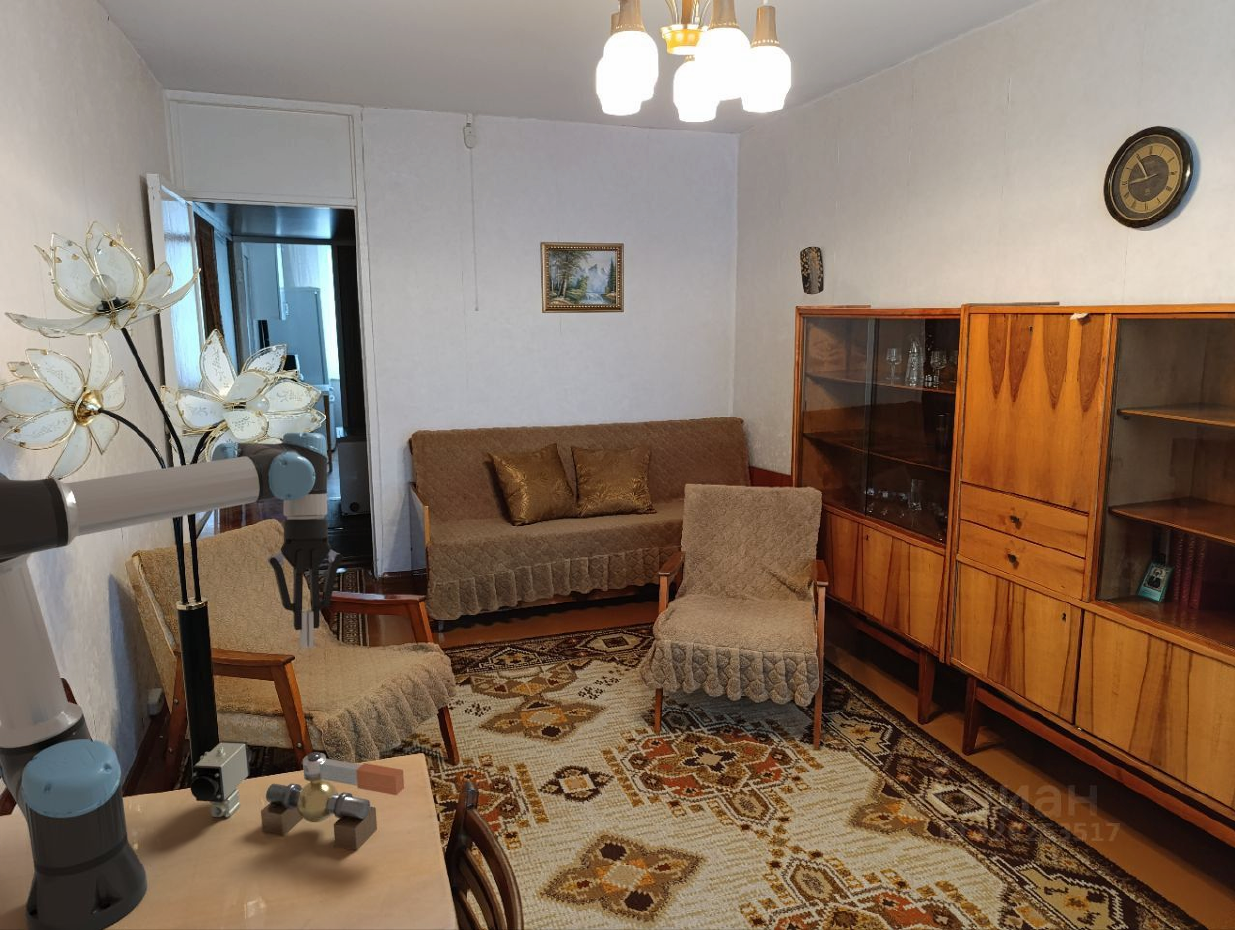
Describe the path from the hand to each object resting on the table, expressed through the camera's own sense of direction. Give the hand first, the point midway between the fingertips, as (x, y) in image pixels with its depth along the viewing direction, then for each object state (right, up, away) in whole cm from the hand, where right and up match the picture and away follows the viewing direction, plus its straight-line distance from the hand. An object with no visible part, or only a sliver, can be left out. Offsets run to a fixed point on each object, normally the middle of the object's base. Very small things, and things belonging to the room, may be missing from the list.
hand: (306, 646), depth 155 cm
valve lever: (+13, -19, -16) cm, 28 cm away
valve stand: (+7, -28, -12) cm, 32 cm away
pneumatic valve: (-12, -28, -6) cm, 31 cm away
